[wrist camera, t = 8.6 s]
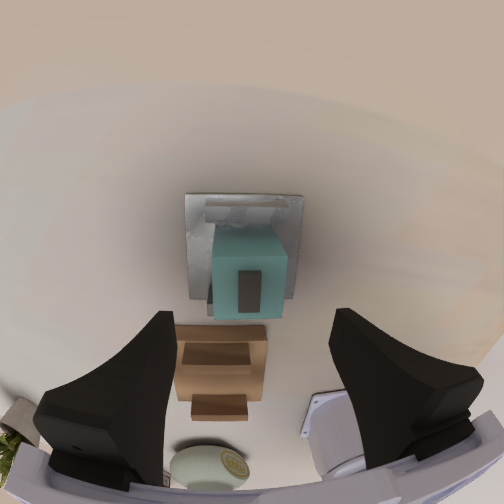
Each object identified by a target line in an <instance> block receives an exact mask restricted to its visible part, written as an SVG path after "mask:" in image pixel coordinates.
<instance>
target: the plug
mask: <svg viewBox="0 0 504 504" xmlns="http://www.w3.org/2000/svg"><path fill="white" fill-rule="evenodd" d="M287 259H288V256H287V254H286V252H285V250H284V248H283V246H282V244H281V242H280V240H279V238H278V236H277V234H276V232H275V230H274V228H263V227H215V230H214V239H213V248H212V288H213V312H214V320H235V319H273V318H282V311H283V301H284V291H285V280H286V270H287Z"/></svg>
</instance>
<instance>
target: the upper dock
mask: <svg viewBox="0 0 504 504" xmlns="http://www.w3.org/2000/svg"><path fill="white" fill-rule="evenodd" d="M175 331H176V339H177V345H178V350H177V360H176V368H175V373H174V377H173V379H174V384H175V388H176V393H177V397H178V401H192V406H191V418H192V421H248V409H247V402H248V401H261V398H262V389H263V380H264V370H265V360H266V350H267V336H266V331H265V326H264V325H263V326H183V325H175Z"/></svg>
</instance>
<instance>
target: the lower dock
mask: <svg viewBox="0 0 504 504" xmlns="http://www.w3.org/2000/svg"><path fill="white" fill-rule="evenodd" d="M303 202H304V197H303V196H302V195H281V194H248V193H186V194H185V220H186V247H187V266H188V282H189V296H190V299H199V300H207V315H208V316H214V312H213V288H212V248H213V239H214V230H215V227H263V228H274V230H275V232H276V234H277V236H278V238H279V240H280V242H281V244H282V246H283V248H284V250H285V252H286V254H287V256H288V259H287V270H286V280H285V291H284V299H293V295H294V287H295V279H296V270H297V262H298V253H299V243H300V234H301V224H302V213H303Z"/></svg>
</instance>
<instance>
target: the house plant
mask: <svg viewBox="0 0 504 504" xmlns="http://www.w3.org/2000/svg"><path fill="white" fill-rule="evenodd" d="M36 409H37V406H35V405H34V404H33V403H32V402H30V401H28V400H26V399H24V398H18V399H17V400H16V401H15V403H14V404H13V405H12V406H11V407H10V409H9V410H8V411H7V412H6V414H5V415H4V416H3V417H2V419H1V420H0V427H1V429H2V430H3V431H4V432H5V433H4V434H3V435H2V436H0V452H1V451H3V452H2V453H0V455H3V457H2V458H1V459H0V473H2V480H1V483H0V488H1V487H2V486H3V484H4V483H5V480H6V478H7V476H8V473H9V471H10V468H11V464H12V460H13V462H14V459H15V457H16V454H17V452H18V449H19V447H20V444H21V442H24V443H26V444H29V445H31V446H33V447H36V448H38V446H39V441H40V436H41V434H40V433H39V432H38V430H37V429H36V427H35V426H34V423H33V420H32V419H33V416H34V413H35V411H36ZM5 434H6V435H5ZM7 435H8V436H7ZM5 437H7V438H5ZM14 455H15V456H14ZM13 457H14V459H13Z"/></svg>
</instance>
